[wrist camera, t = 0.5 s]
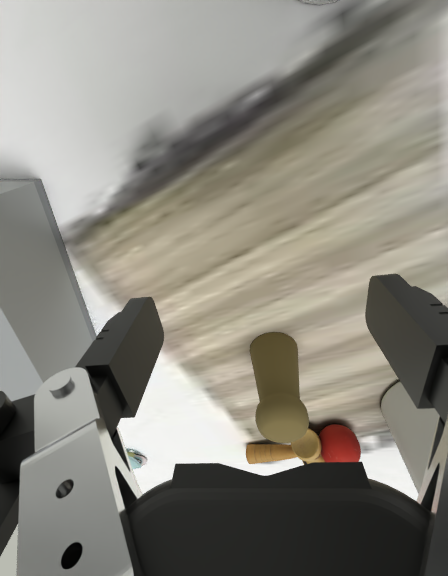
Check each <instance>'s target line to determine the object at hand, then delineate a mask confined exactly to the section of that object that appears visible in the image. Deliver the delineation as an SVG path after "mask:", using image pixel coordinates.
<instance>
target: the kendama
mask: <svg viewBox="0 0 448 576" xmlns="http://www.w3.org/2000/svg"><path fill="white" fill-rule="evenodd" d="M318 433H320V434H319V437H318V435H317V434H318ZM318 433H317V434H316V433H315V432H314V431H312V430H311V429H307V432H306V434H305V435H304V436H303V437H302V438H300V439H298V440H296V441H294V442H291V445H282V444H273V445H272V444H248V445H247V448H246V458H247V461H248V463H249V464H255V463H262V462H270V461H279V460H286V459H291V458H295V457H298V458H299V459H301V460H302V461H303V463H304V465H306V464H309V463H313V462H358V461H359V459H360V455H361V449H360V445H359V442H358V440H357V437H356V435H355V434H354V433H353V432H352V431H351V430H350V429H349V428H347V427H345V426H343V425H338V424H332V425H329V426H326V427H325V428H324V429H323V430H321V431H320V432H318Z"/></svg>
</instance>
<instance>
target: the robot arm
mask: <svg viewBox="0 0 448 576" xmlns="http://www.w3.org/2000/svg"><path fill="white" fill-rule="evenodd" d="M300 1H302V2H304V3H310V4H318V5H321V4H327V3H333V2H337V1H339V0H300ZM365 317H366V323H367V327H368V329H369V331H370V333H371V334H372V336H373V338H374V339H375V341H376V342H377V344H378V346H379V347H380V349H381V351H382V352H383V354H384V356H385V357H386V359H387V360H388V362H389V364H390V365H391V367H392V369H393V370H394V372H395V373H396V375H397V377H398V378H399V380H400V382H401V383H402V385H403V387H404V388H405V390H406V391H407V393H408V395H409V396H410V398H411V400H412V401H413V403H414V404H415V406H416V408H417V409H430V408H435V410H436V411H437V413H438V414H439V415H440V416H439V418H438V421H437V424H436V428H435V432H434V437H433V441H432V445H431V449H430V453H429V458H428V462H427V466H426V470H425V475H424V478H423V482H422V486H421V489H420V492H419V495H418V498H417V501H415V500H413V499H412V498H410V497H409V496H407V495H405V494H404V493H402V492H400V491H398V490H396V489H394V488H392V487H390V486H388V485H385V484H383V483H380V482H378V481H375V480H372V479H368V478H367V475H366V472H365V469H364V466H363V463H362V462H313V463H309V464H306V465H303V466H299V467H296V468H293V469H289V470H286V471H283V472H279V473H276V474H273V475H269V476H262V475H258V474H254V473H251V472H247V471H244V470H240V469H237V468H233V467H229V466H226V465H222V464H219V463H200V464H175V469H174V473H173V478H172V480H169V481H166V482H164V483H162V484H160V485H157V486H156V487H154V488H152V489H151V490H149V491H147V492H146V493H144V494H142V492H141V490H140V488H139V485H138V483H137V480H136V478H135V475H134V472H133V469H132V466H131V463H130V460H129V457H128V454H127V451H126V448H125V445H124V442H123V439H122V436H121V433H120V431H119V429H118V427H117V426H118V423H119V421H120V419H121V418H131V417H135V415H136V412H137V410H138V407H139V405H140V402H141V399H142V397H143V394H144V392H145V389H146V386H147V384H148V381H149V379H150V376H151V373H152V371H153V368H154V366H155V363H156V360H157V358H158V355H159V353H160V350H161V347H162V345H163V341H164V332H163V327H162V324H161V321H160V318H159V315H158V312H157V309H156V306H155V303H154V300H153V299H152V298H151V297H142V298H132V299H130V300H129V301H128V303H127V304H126V306H125V307H124V309H123V310H122V312H119V313H117V314H116V315H115V316H114V317H112V318H111V319H110V320H108V322H107V323H106V324H105V326H104V327H103V329H102V330H101V332H100V333H99V334H98V336H97V337H96V340H94V341H93V343H92V344H91V345H90V347H89V348H88V349H87V351H86V352H85V354H84V355H83V356H82V358H81V359H80V361H79V362H78V363H77V365H76V366H75V368H69V369H66V370H63V371H61V372H59V373H57V374H55V375H53V376H52V377H50V378H49V379H48V380H46V381H45V382H44V383H43V384H42V385H41V386H40V387H39V389H38V390H37V392H36V394H34V395H31V396H27V397H24V398H21V399H18V400H14V401H11V400H10V399H9V398H8V397H7V395H6V394H5V393H4V392H3V391H0V556H1V554H2V552H3V550H4V548H5V547H6V545H7V543H8V541H9V539H10V537H11V535H12V534H13V532H14V530H15V528H16V526H17V524H18V547H17V549H18V550H17V576H448V308H447V307H446V306H445V305H442V303H441V302H440V301H439V300H438V299H437V298H436V297H435V296H433V295H432V294H431V293H429V292H427V291H425V290H422V289H420V288H418V287H416V286H414V287H411V286H410V285H409V284H408V283H407V282H406V281H405V280H404V279H403V278H402V277H401V276H400V275H398V274H388V275H377V276H372V277H371V279H370V282H369V289H368V297H367V305H366V313H365Z"/></svg>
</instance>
